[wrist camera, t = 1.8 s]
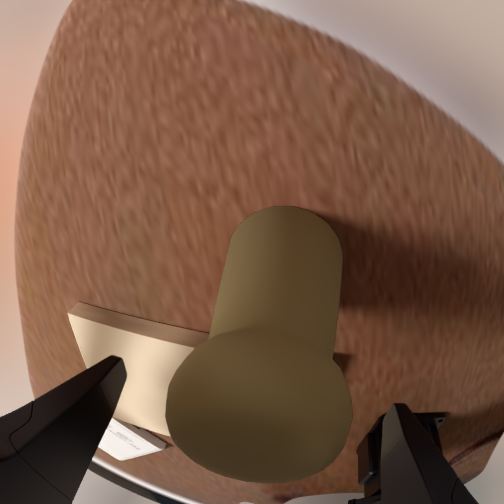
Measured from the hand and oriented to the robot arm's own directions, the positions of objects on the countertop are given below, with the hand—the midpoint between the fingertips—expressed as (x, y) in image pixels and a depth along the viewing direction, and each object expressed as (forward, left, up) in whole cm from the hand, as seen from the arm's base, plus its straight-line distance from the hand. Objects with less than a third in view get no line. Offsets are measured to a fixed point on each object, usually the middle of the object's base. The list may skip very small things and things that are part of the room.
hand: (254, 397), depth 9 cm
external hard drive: (+16, +26, -9) cm, 32 cm away
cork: (0, 0, -9) cm, 9 cm away
